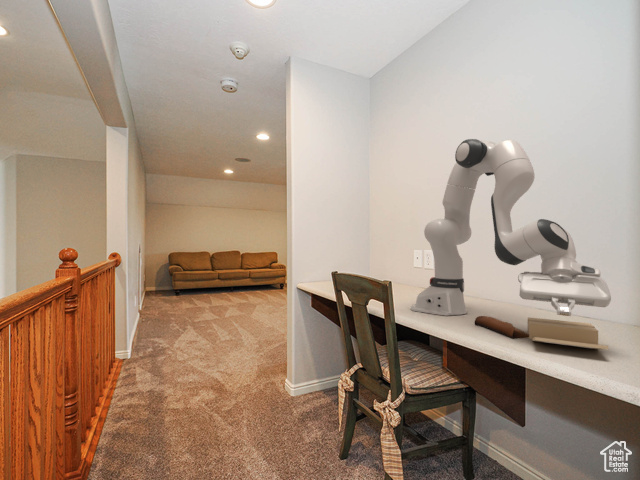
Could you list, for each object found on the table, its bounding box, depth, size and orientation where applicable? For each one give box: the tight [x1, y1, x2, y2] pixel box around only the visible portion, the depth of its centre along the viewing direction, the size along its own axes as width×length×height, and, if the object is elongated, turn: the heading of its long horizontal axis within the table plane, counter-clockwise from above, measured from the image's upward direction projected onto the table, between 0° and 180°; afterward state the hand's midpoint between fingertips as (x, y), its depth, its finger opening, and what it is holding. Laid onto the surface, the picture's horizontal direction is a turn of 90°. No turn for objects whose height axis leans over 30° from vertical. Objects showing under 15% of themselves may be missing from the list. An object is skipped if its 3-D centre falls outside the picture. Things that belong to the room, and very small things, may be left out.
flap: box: [531, 337, 609, 350], centre depth 88 cm, size 15×1×12 cm
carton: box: [527, 317, 599, 345], centre depth 97 cm, size 16×9×5 cm, turn 60°
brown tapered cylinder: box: [474, 315, 530, 340], centre depth 106 cm, size 18×7×7 cm
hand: (564, 314), depth 86 cm, fingers closed
